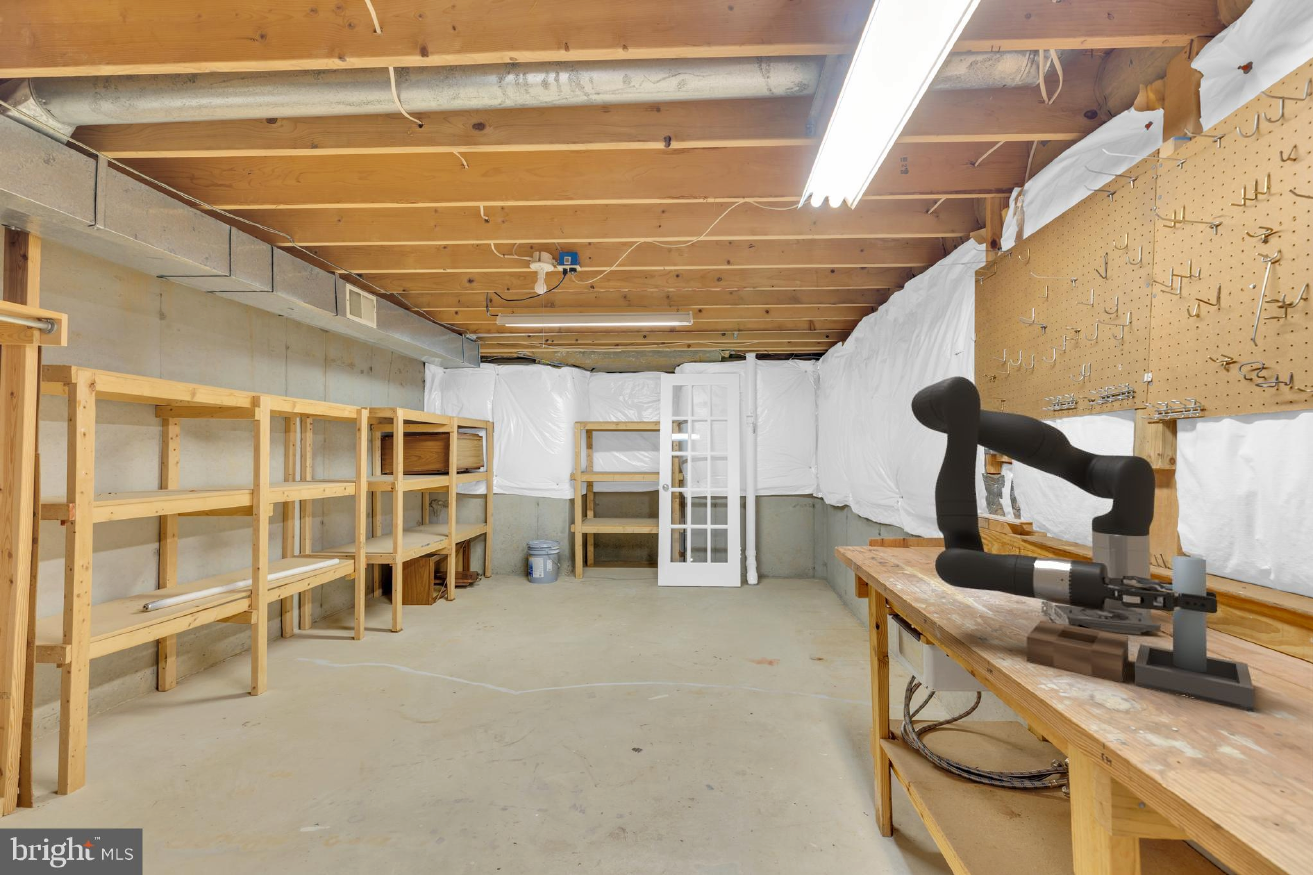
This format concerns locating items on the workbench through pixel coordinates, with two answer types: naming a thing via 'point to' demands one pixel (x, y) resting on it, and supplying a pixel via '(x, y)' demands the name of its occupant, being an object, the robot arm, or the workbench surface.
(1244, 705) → the tray
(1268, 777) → the workbench surface
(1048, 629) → the bore block
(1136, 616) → the graphics card
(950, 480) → the robot arm
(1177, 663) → the dowel
